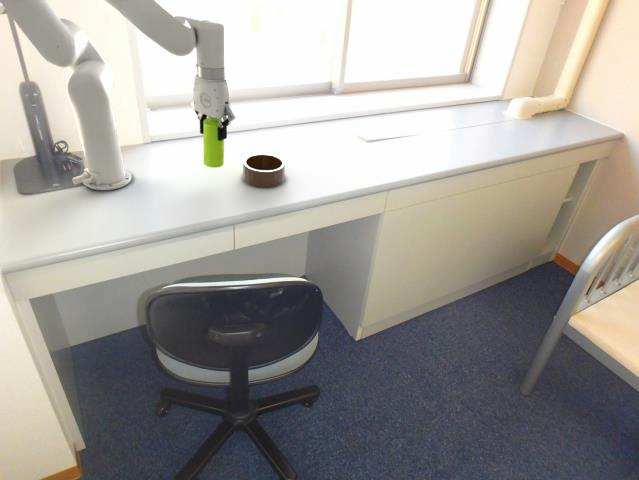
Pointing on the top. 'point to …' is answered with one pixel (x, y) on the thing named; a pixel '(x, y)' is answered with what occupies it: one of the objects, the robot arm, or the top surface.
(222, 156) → the soap dispenser
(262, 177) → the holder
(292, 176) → the top surface
